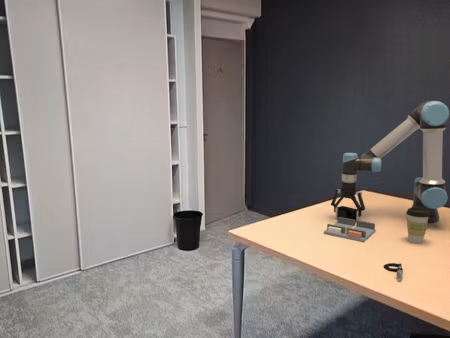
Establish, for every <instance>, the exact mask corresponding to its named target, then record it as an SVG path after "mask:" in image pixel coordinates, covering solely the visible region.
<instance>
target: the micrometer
mask: <svg viewBox="0 0 450 338" xmlns="http://www.w3.org/2000/svg"><path fill="white" fill-rule="evenodd" d="M394 267H397V268H394ZM383 269H384V270H386V271H388V272H396V275H395V279H396V280H397V282H399V283H400V282H402V280H403V275H404V272H403V269H404V268H402V263H396V262H395V263H394V262H389V263H385V264H384V265H383Z"/></svg>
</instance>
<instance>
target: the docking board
mask: <svg viewBox="0 0 450 338" xmlns="http://www.w3.org/2000/svg"><path fill="white" fill-rule="evenodd" d="M326 226H327V227H326V228H327V229H325V230H324V231H323V234H324V235H328V236H333V237H338V238H341V239H347V240H351V241H356V242H361V243H365V242H366V241H368V239H369V238H371V236H373V235H374V234H375V233H376V231H377V229H376V223H374V222H368V221H363V220H360V219H359V220H357V223H355V220H353V219H348V218H342V217H338V218H337V222H336V223H334V224H331V223H327V225H326Z"/></svg>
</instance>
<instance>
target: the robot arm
mask: <svg viewBox="0 0 450 338" xmlns="http://www.w3.org/2000/svg"><path fill="white" fill-rule="evenodd" d="M449 117H450V111H449V108H448V106H447V105H446V104H445V103H444V102H441V101H438V100H427V101H424V102H422V103H420V104H419V105H418V106H416V108H415V109H413V111H412V112H411V113H409V114H408V115H407V118H406V119H405V120H404V121H403V122H401V123H400V124H399V125H398V126H397V127H395V128H394V129H393V130H392V131H391V132H389V133H388V134H387V135H386V136H384V137H383V138H382V139H381V140H380V141H378V142H377V143H376V144H375V145H374V146H373V147H372V148H370V149H369V150H367V152H364V153H363V154H361V156H358V153H355V152H345V153H344V154H343V155H342V166H341V169H342V170H341V187H340V188H341V189H339V188H337V189H335V191H334V192H335V193H334V196H333V198H332V200H331V203H330V206H333V213H334V214H335V215H334V217H335V218H334V219H335V220H338V207H339V204H340V203H342V201H343V199H349V200H351V201H352V203H353V204H354V205H355V207H356V209H358V211H357V216H356V223H357V220H359V221H360V218H361V217H362V212H363V211H365V210H366V206H365V203H364V199H363V196H362V194H363V192H362V191H357V175H358V174H357V173H358V172H369V173H370V172H372V173H379V172H381V171H382V158H383V157H384V156H386V155H387V154H389V153H390V152H391V151H393V149H395V147H397V146H398V145H400V144H401V143H403V141H405V140H406V139H408V137H410V136H411V135H412V134H413V133H414V132H415V131H417V130H421V131H422V133H423V134H422V135H423V136H422V138H423V139H422V140H423V141H422V153H423V154H422V177H415V179H414V182H413V184H414V187H413V188H414V189H413V197H412V198H413V200H412V205H411V207H410V208H422V209H426V210H428V212H429V214H430V216H429V217H428V223H437V222H439V221H440V213H439V211H438V209H440V208H442V207H443V206H445V205H446V203H448V202H447V201H448V198H449V197H448V193H447V191H446V180H445V179H444V178H443V137H444V136H443V134H444V131H445V130H446V129H447V120H448V119H449ZM339 194H341V196H340V197H339ZM356 196H357V198H356ZM338 197H339V198H338ZM357 199H358V200H357ZM356 223H355V224H356Z"/></svg>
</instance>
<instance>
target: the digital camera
mask: <svg viewBox="0 0 450 338" xmlns="http://www.w3.org/2000/svg"><path fill="white" fill-rule="evenodd" d="M357 211H358V209H357V208H354V207H349V206H345V205H341V206H338V217H342V218H348V219H353V220H355V224H356V216H357Z"/></svg>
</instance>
